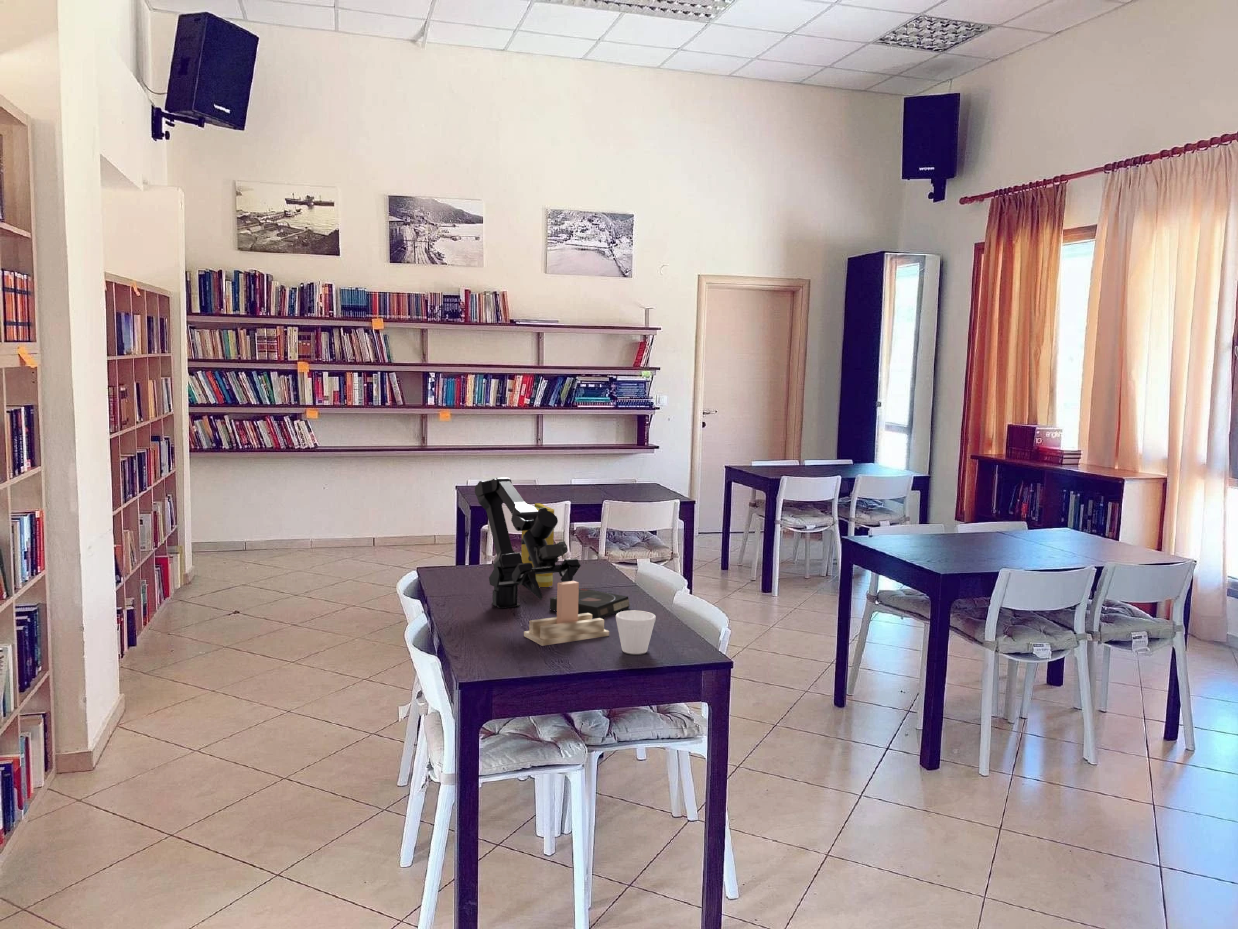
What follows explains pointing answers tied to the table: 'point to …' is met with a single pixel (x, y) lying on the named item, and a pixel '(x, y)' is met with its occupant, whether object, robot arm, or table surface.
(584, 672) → the table surface
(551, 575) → the book
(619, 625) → the cup
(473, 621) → the table surface
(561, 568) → the robot arm
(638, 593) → the table surface
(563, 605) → the tile
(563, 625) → the rack
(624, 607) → the portable cd player
